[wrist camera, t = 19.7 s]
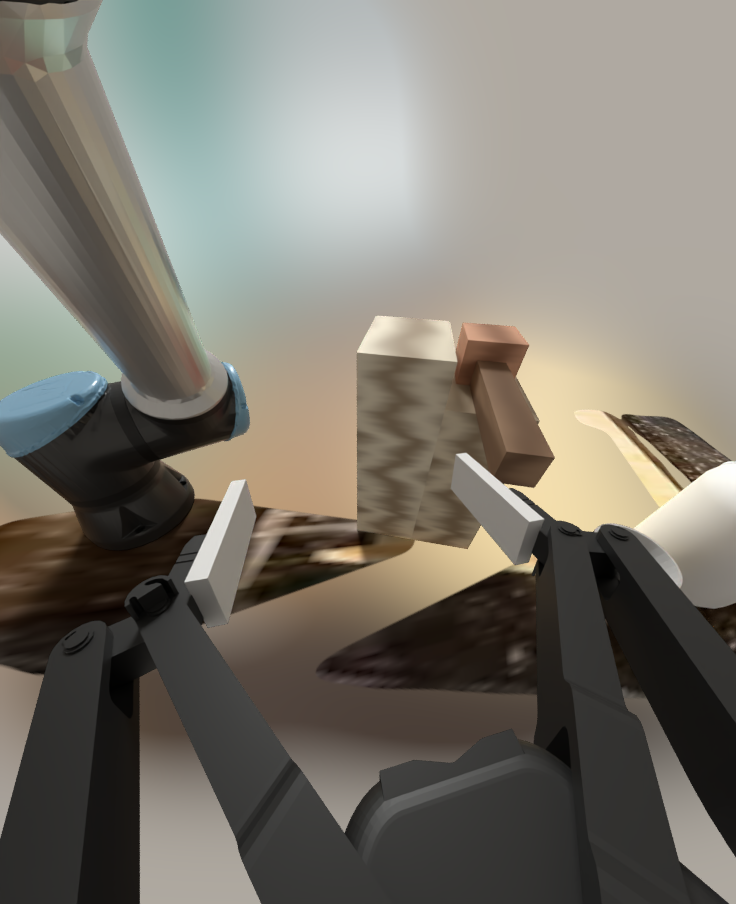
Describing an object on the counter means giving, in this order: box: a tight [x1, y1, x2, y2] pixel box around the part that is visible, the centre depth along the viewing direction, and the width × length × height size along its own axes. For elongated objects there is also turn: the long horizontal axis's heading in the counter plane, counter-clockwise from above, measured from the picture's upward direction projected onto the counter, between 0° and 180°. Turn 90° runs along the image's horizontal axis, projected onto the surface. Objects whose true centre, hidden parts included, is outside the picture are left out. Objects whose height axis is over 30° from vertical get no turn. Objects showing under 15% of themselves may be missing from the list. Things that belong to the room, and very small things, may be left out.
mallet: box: [454, 323, 554, 488], centre depth 25 cm, size 6×21×5 cm, turn 170°
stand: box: [357, 316, 539, 549], centre depth 38 cm, size 18×12×30 cm, turn 80°
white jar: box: [634, 464, 736, 609], centre depth 34 cm, size 12×12×20 cm
